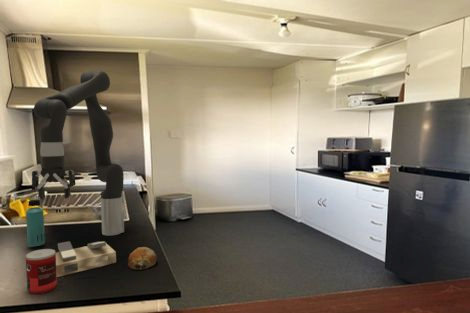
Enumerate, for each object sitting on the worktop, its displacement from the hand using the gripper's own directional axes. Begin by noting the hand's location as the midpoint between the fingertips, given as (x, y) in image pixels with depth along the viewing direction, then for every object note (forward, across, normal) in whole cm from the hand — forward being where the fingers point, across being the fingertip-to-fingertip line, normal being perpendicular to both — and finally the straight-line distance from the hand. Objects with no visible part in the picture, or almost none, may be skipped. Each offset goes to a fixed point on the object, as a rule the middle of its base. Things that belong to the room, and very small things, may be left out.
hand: (54, 198), depth 118 cm
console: (+24, -11, +5) cm, 26 cm away
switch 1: (+19, -6, +7) cm, 21 cm away
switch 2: (+19, -15, +2) cm, 24 cm away
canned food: (+24, -5, +22) cm, 33 cm away
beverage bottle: (+24, +15, -15) cm, 32 cm away
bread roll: (+24, -32, +8) cm, 41 cm away
